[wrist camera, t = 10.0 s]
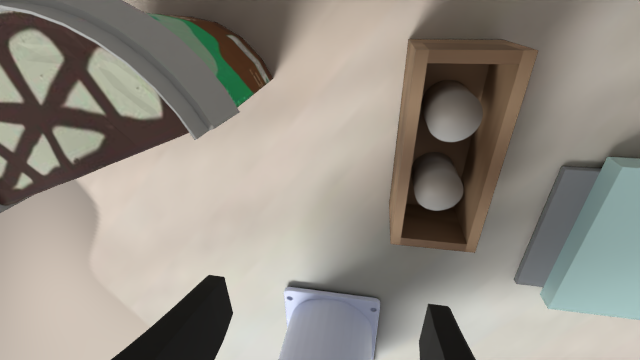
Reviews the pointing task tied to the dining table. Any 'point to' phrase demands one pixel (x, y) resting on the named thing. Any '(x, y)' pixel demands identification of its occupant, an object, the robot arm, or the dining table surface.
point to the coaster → (555, 223)
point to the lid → (602, 249)
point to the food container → (108, 86)
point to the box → (453, 137)
